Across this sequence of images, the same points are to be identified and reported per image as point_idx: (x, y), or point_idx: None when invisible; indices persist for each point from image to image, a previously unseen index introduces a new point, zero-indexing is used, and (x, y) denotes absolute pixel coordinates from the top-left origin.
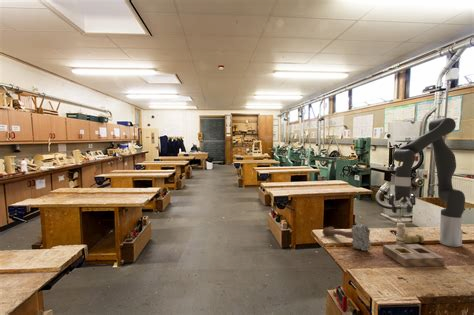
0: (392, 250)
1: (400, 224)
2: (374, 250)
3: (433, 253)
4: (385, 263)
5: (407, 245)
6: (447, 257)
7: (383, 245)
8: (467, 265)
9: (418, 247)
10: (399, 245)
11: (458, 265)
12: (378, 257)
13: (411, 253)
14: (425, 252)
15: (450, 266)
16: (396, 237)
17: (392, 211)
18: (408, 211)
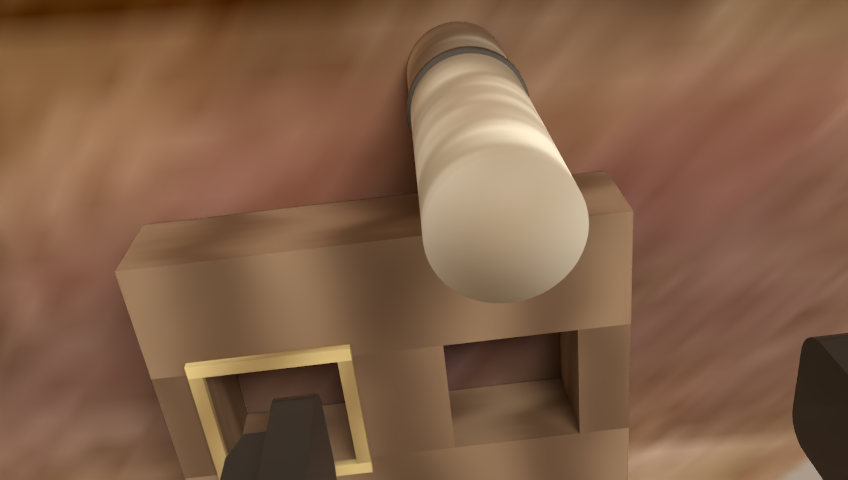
0: (170, 411)
1: (452, 284)
2: (50, 187)
3: (601, 440)
4: (70, 456)
5: None
6: (812, 299)
7: (119, 279)
8: None
9: (555, 313)
10: (341, 271)
11: (747, 436)
12: (41, 354)
13: (342, 475)
14: (572, 363)
15: (654, 457)
16: (418, 91)
17: (246, 446)
18: (815, 417)
